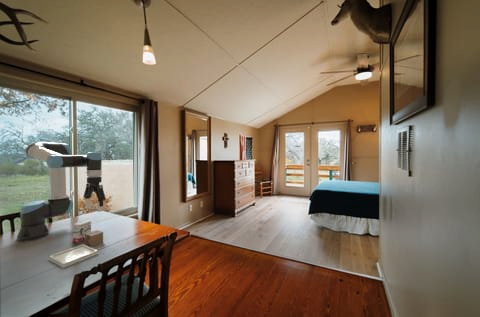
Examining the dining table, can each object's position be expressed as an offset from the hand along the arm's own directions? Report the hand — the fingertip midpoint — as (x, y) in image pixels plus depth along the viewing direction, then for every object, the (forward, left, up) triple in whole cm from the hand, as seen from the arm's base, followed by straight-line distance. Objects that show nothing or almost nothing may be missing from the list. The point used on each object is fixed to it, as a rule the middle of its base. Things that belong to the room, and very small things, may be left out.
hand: (94, 209), depth 126 cm
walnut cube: (0, 0, -22) cm, 22 cm away
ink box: (-13, -1, -22) cm, 25 cm away
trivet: (+8, -14, -22) cm, 27 cm away
